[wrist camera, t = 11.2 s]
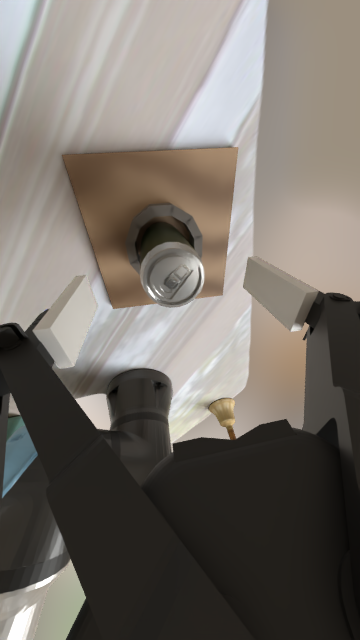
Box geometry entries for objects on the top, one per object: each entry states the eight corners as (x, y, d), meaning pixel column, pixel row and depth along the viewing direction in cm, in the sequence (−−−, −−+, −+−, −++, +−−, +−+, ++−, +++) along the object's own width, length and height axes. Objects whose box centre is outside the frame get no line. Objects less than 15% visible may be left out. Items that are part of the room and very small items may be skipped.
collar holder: (220, 292, 31) (229, 304, 27) (114, 305, 29) (110, 320, 26) (234, 148, 20) (251, 141, 17) (65, 156, 18) (48, 149, 15)
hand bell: (230, 410, 58) (254, 472, 46) (206, 413, 57) (224, 477, 44) (237, 396, 53) (266, 461, 41) (211, 399, 52) (232, 467, 39)
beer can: (160, 210, 21) (174, 227, 12) (190, 243, 24) (220, 278, 15) (132, 244, 23) (124, 283, 13) (163, 271, 26) (174, 320, 16)
